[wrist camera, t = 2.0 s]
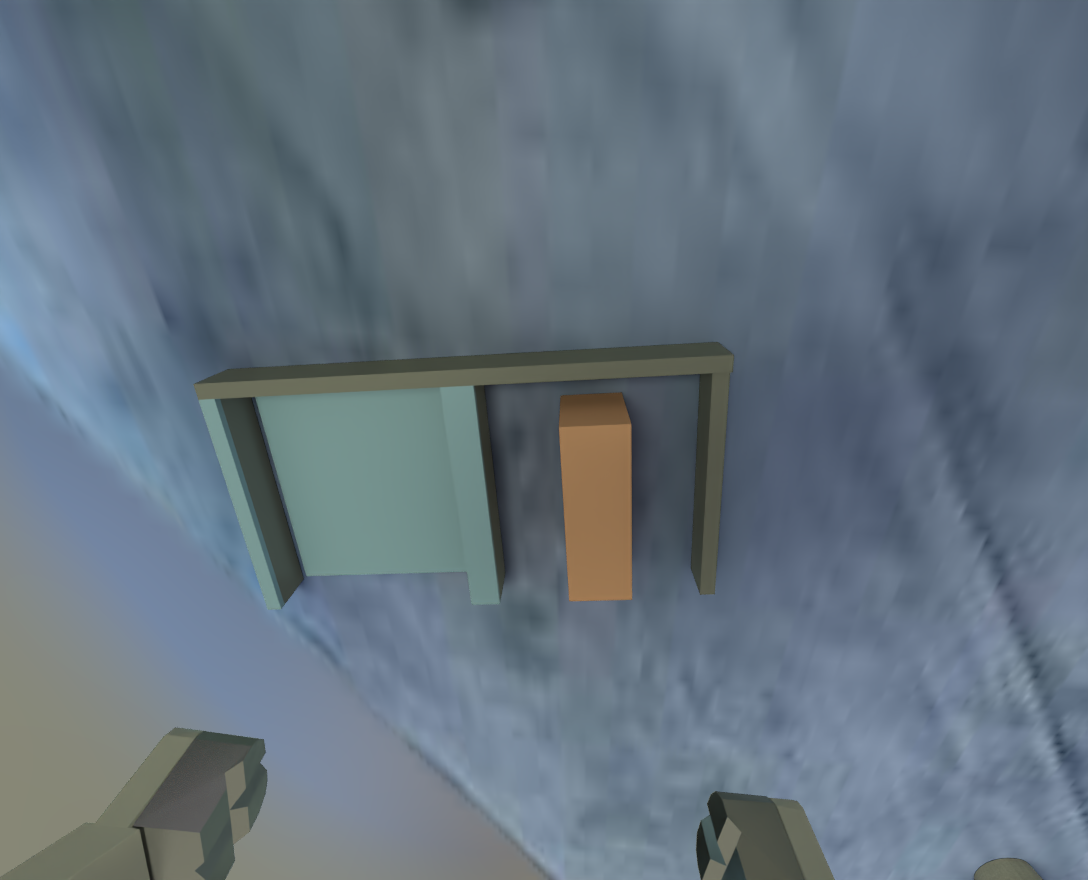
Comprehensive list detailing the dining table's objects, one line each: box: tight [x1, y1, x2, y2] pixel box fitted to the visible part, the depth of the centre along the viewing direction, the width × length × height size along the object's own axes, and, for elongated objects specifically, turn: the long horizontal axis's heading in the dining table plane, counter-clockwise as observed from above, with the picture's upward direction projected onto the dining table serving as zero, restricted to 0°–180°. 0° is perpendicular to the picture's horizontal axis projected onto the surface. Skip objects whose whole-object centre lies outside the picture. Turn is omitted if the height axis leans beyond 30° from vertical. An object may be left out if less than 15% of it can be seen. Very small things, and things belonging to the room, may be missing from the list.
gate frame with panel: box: [194, 342, 734, 610], centre depth 36 cm, size 32×17×4 cm, turn 94°
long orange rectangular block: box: [559, 392, 632, 601], centre depth 34 cm, size 4×12×6 cm, turn 4°
